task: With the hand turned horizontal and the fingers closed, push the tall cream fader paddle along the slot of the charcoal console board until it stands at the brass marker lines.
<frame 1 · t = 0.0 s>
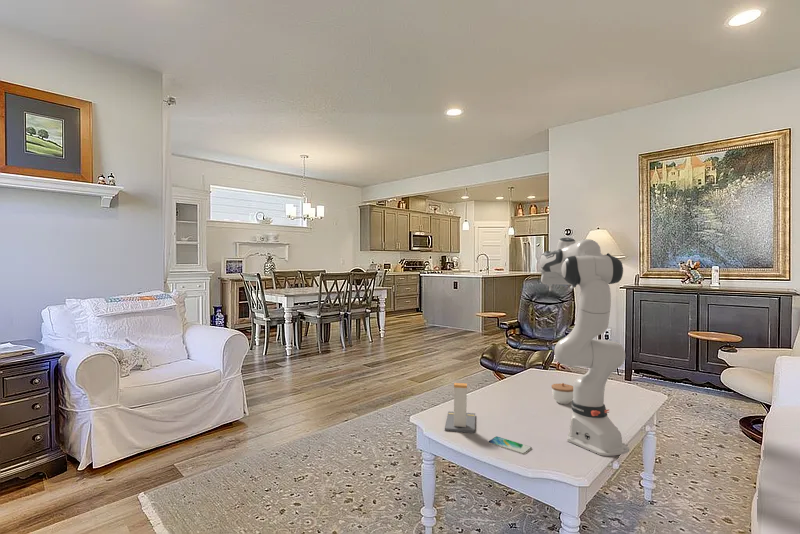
hand: (560, 290, 223), 54 cm above the table, tool tilted 30°, fingers open, 8 cm apart
fader tab: (460, 404, 178), point 10 cm above the table, slide at 0.0 cm
console board: (460, 422, 184), on the table
lidded jar: (562, 402, 213), on the table
smartphone: (509, 447, 162), on the table
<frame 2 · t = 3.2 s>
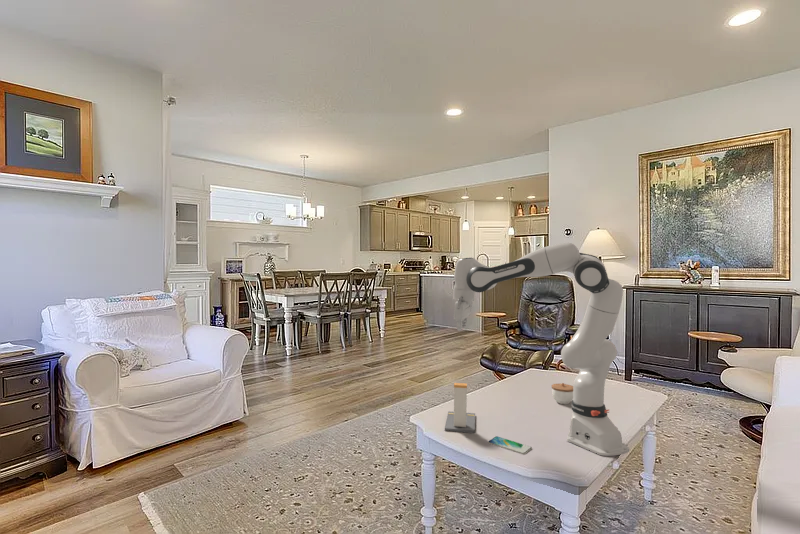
hand: (461, 328, 182), 41 cm above the table, tool pointing down, fingers open, 8 cm apart
nothing on the table moved.
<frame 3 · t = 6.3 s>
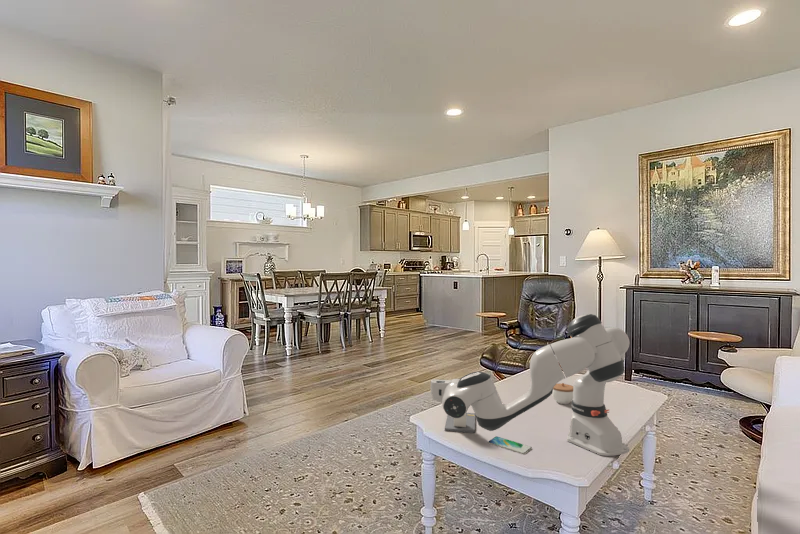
hand: (459, 381, 163), 23 cm above the table, tool horizontal, fingers closed
nothing on the table moved.
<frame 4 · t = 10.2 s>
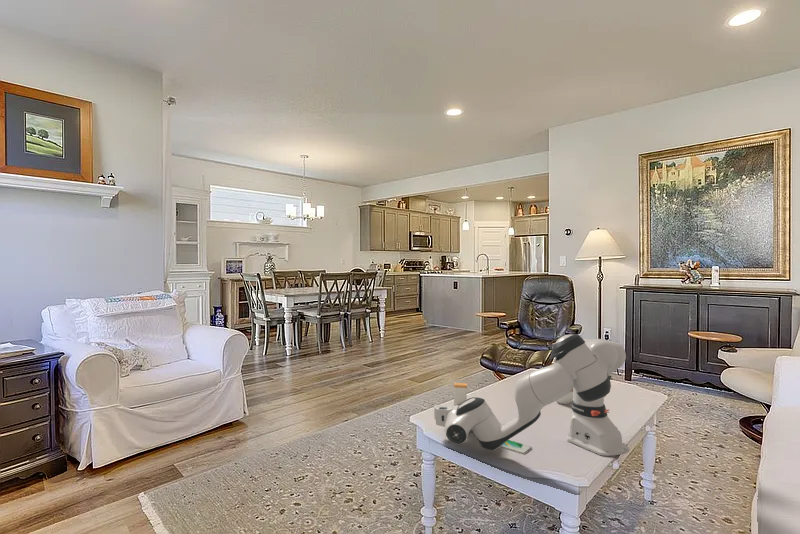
hand: (460, 406, 176), 9 cm above the table, tool horizontal, fingers closed, pressing on fader tab
fader tab: (460, 404, 178), point 10 cm above the table, slide at 0.2 cm, touching gripper
everything else where it was.
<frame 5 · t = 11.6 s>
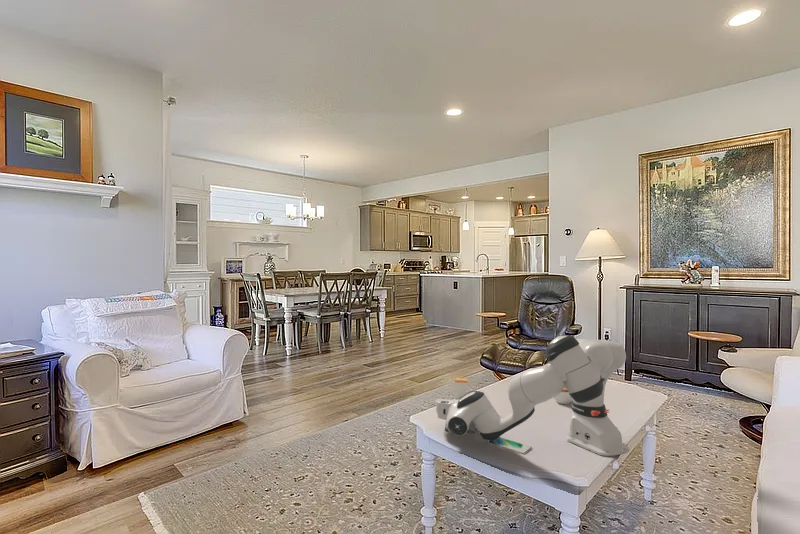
hand: (460, 400, 184), 9 cm above the table, tool horizontal, fingers closed, pressing on fader tab
fader tab: (461, 399, 185), point 10 cm above the table, slide at 7.5 cm, touching gripper
everything else where it was.
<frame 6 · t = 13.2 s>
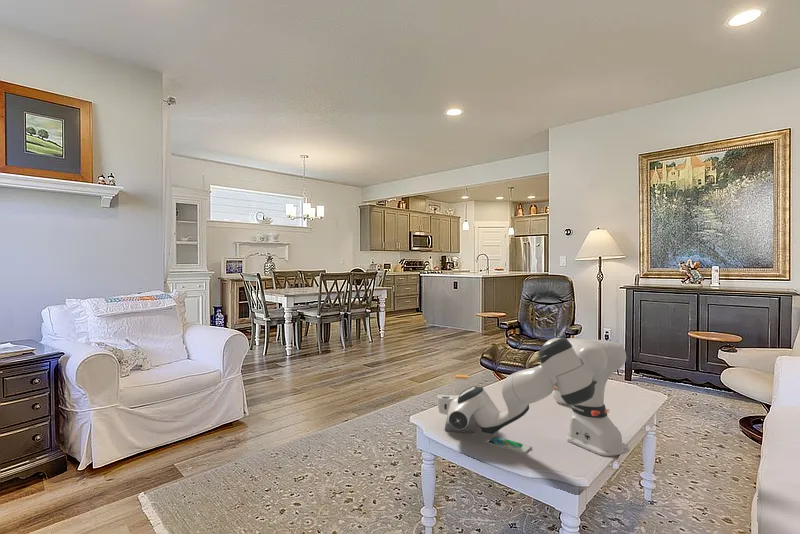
hand: (461, 396, 189), 9 cm above the table, tool horizontal, fingers closed, pressing on fader tab
fader tab: (461, 394, 191), point 10 cm above the table, slide at 13.4 cm, touching gripper
everything else where it was.
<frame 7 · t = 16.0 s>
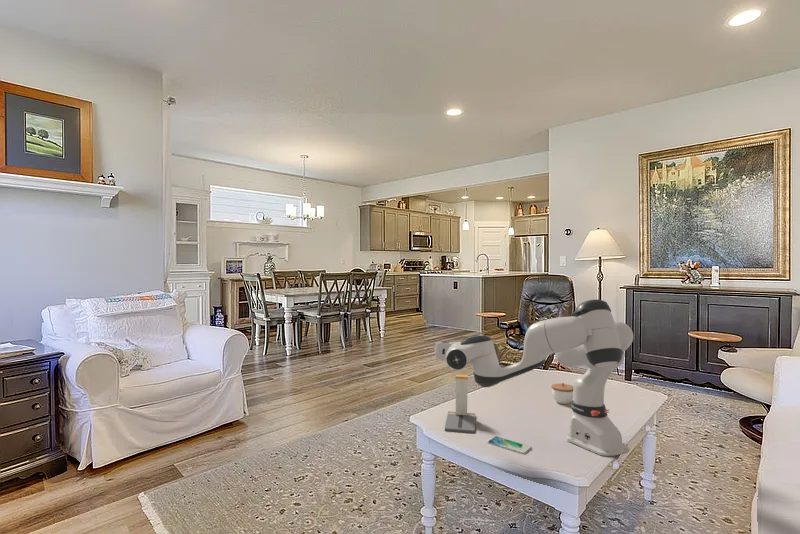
hand: (460, 349, 178), 32 cm above the table, tool horizontal, fingers closed
fader tab: (461, 394, 191), point 10 cm above the table, slide at 13.4 cm
everything else where it was.
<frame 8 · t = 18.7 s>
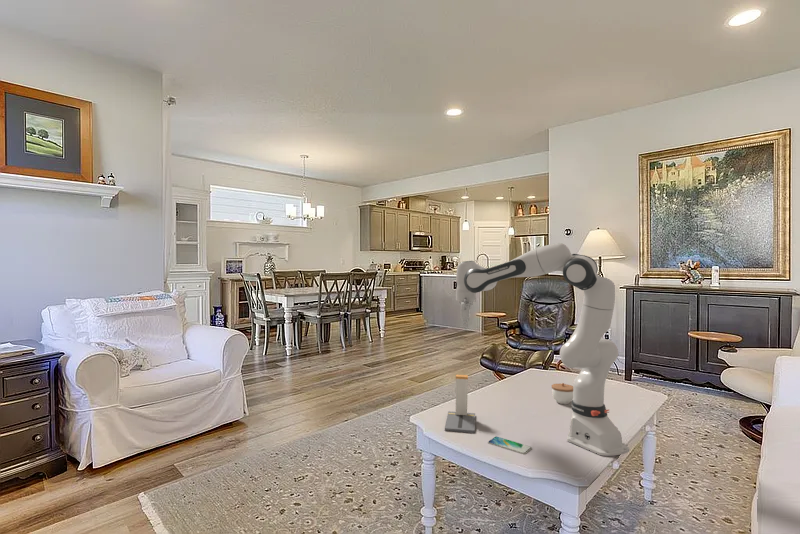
hand: (465, 327, 193), 39 cm above the table, tool pointing down, fingers closed
nothing on the table moved.
at the end: fader tab slide at 13.4 cm; fader tab touching nothing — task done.
